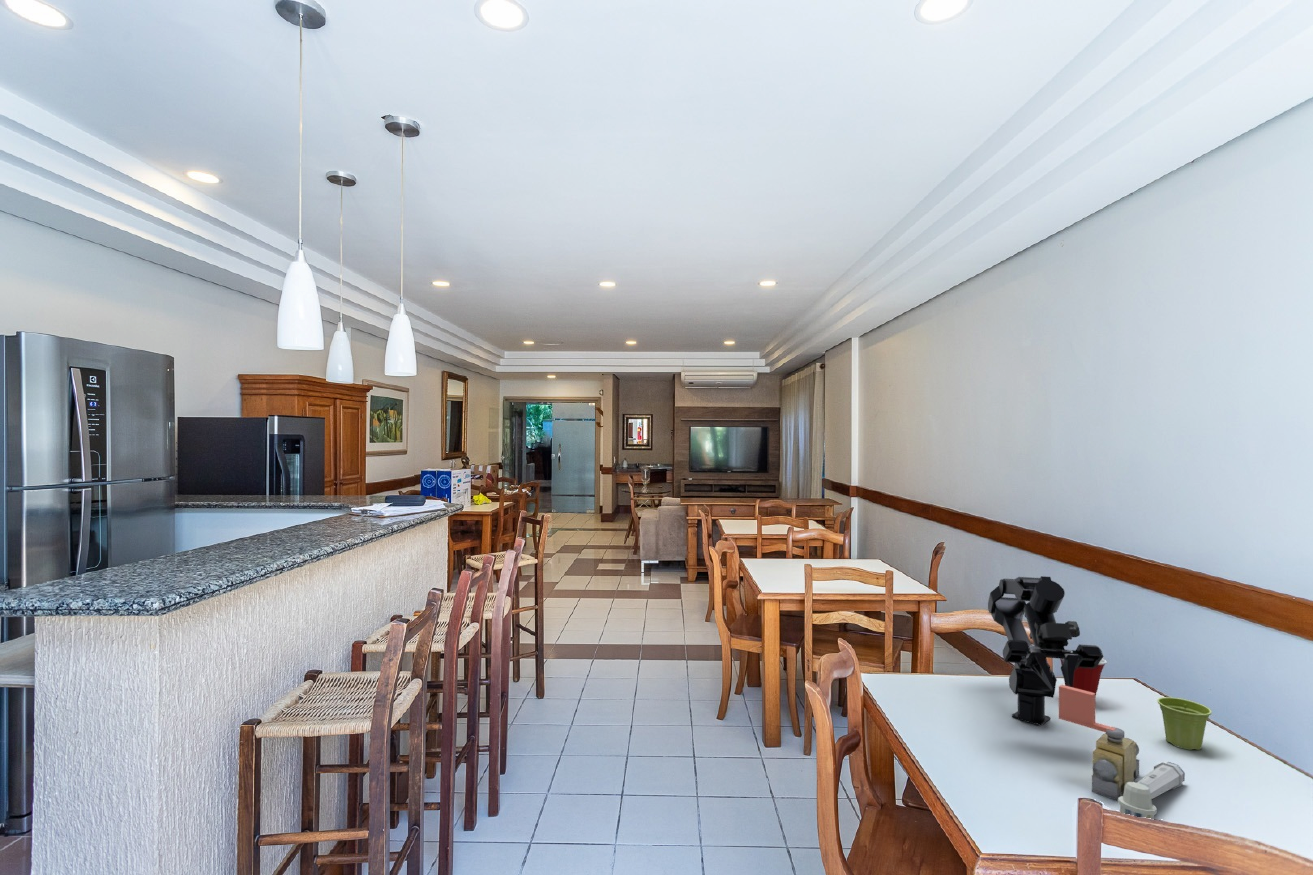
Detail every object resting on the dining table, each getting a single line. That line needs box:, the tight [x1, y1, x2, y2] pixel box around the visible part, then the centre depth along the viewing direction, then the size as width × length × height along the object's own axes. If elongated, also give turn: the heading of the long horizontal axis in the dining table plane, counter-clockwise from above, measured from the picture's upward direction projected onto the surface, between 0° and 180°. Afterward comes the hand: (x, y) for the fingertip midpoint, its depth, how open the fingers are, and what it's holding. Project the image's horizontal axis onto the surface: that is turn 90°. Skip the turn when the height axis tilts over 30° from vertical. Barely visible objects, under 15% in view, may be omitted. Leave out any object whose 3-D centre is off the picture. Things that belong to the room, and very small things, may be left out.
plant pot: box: [1156, 696, 1213, 751], centre depth 143 cm, size 9×9×9 cm
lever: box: [1058, 684, 1125, 739], centre depth 128 cm, size 11×3×7 cm, turn 40°
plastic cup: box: [1059, 657, 1107, 699], centre depth 168 cm, size 11×11×12 cm
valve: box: [1091, 732, 1140, 801], centre depth 126 cm, size 16×5×9 cm, turn 130°
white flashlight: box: [1117, 761, 1186, 820], centre depth 119 cm, size 5×7×25 cm
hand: (1062, 690), depth 137 cm, fingers open, 3 cm apart
